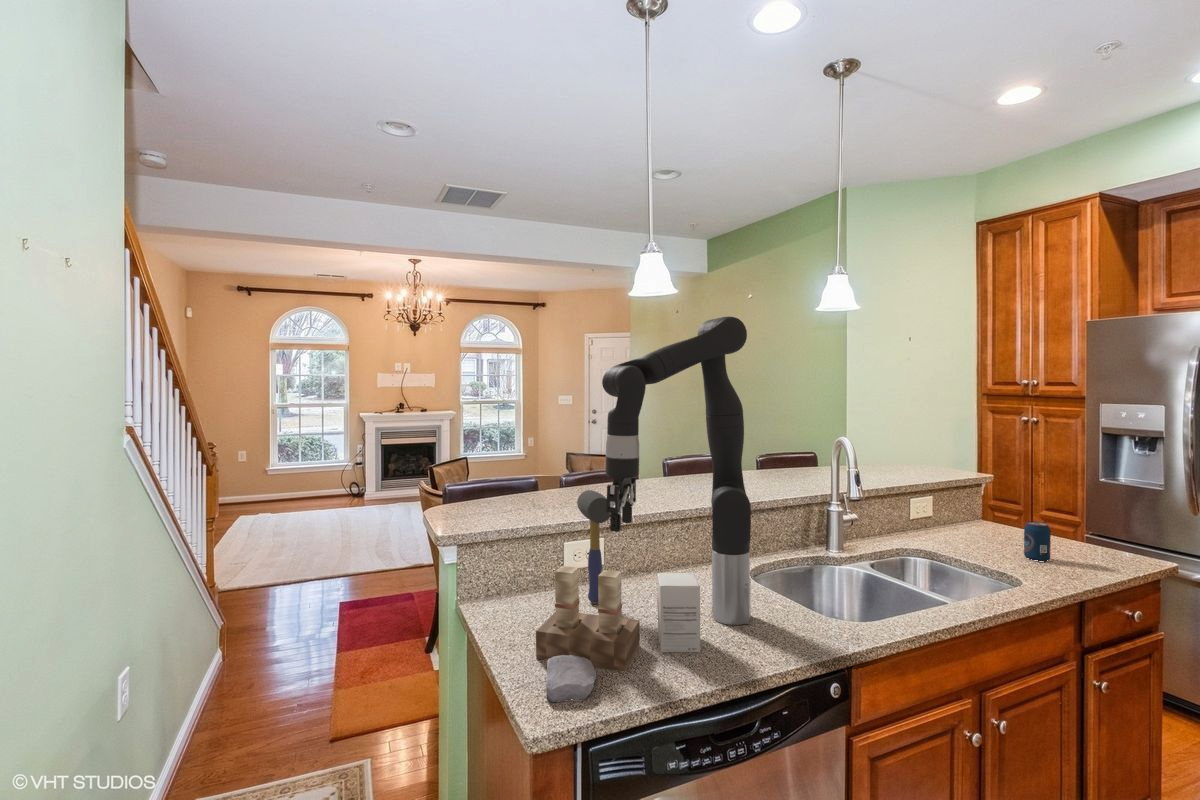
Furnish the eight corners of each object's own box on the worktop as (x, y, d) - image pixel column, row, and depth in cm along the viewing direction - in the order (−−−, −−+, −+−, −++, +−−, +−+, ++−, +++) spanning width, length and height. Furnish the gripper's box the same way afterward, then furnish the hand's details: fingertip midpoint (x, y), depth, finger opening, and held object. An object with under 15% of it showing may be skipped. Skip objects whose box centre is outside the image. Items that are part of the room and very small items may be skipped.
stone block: (591, 678, 120) (543, 672, 119) (595, 656, 120) (548, 649, 119) (595, 713, 108) (542, 706, 107) (600, 688, 108) (547, 681, 107)
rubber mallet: (615, 609, 152) (614, 495, 151) (588, 612, 150) (586, 497, 149) (602, 593, 164) (600, 487, 163) (576, 596, 162) (575, 489, 161)
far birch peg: (579, 624, 130) (579, 567, 130) (573, 632, 127) (572, 573, 126) (562, 622, 132) (561, 565, 131) (555, 629, 128) (554, 571, 127)
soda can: (1019, 556, 194) (1019, 520, 194) (1042, 556, 193) (1042, 521, 193) (1031, 562, 187) (1032, 525, 187) (1055, 563, 186) (1055, 526, 186)
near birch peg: (622, 630, 127) (621, 571, 127) (616, 638, 123) (616, 577, 123) (604, 627, 129) (603, 569, 128) (598, 635, 125) (597, 575, 124)
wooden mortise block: (639, 646, 130) (639, 620, 130) (625, 671, 119) (625, 643, 119) (557, 635, 137) (557, 610, 136) (536, 658, 125) (535, 630, 125)
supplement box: (657, 635, 136) (656, 571, 136) (695, 635, 136) (695, 572, 136) (659, 653, 127) (659, 585, 127) (700, 653, 127) (700, 585, 126)
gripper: (629, 459, 122) (628, 536, 122) (647, 452, 135) (645, 521, 136) (595, 457, 124) (594, 532, 125) (616, 450, 138) (615, 518, 138)
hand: (621, 526), depth 130 cm, fingers open, 8 cm apart
